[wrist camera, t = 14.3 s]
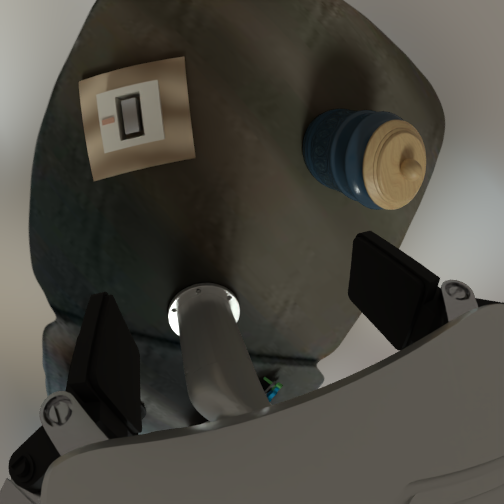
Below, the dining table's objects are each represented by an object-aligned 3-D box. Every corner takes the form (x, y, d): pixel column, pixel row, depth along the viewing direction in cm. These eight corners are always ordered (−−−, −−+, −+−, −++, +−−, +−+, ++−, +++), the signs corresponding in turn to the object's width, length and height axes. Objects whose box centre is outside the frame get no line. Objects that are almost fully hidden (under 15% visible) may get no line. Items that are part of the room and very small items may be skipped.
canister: (295, 111, 36) (376, 114, 21) (364, 107, 38) (449, 117, 23) (304, 193, 42) (376, 238, 27) (367, 179, 45) (444, 215, 30)
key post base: (194, 156, 35) (199, 162, 30) (96, 178, 32) (84, 189, 27) (183, 59, 28) (186, 47, 23) (81, 82, 25) (67, 77, 20)
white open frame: (165, 136, 31) (164, 139, 27) (112, 149, 30) (103, 153, 25) (159, 85, 28) (157, 79, 24) (105, 98, 27) (95, 94, 22)
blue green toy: (261, 407, 65) (251, 423, 55) (243, 393, 66) (232, 408, 57) (287, 379, 64) (282, 393, 55) (269, 365, 66) (261, 378, 56)
